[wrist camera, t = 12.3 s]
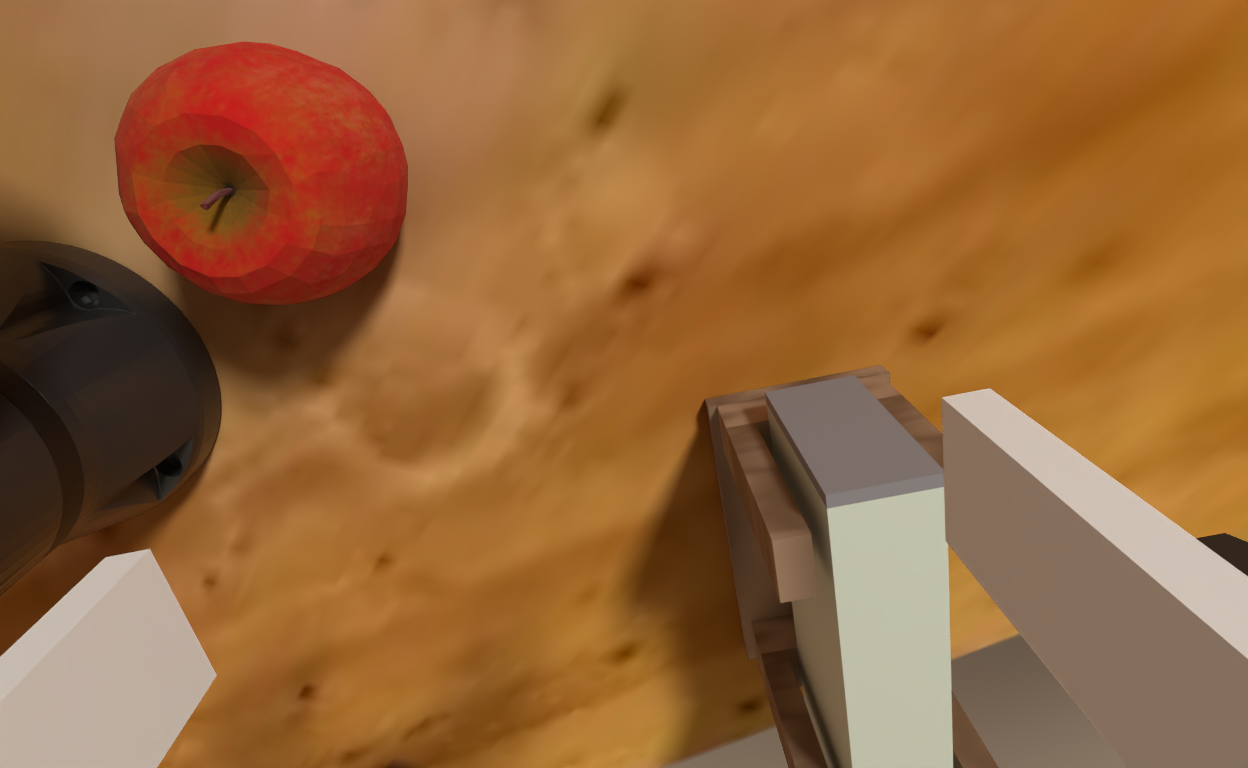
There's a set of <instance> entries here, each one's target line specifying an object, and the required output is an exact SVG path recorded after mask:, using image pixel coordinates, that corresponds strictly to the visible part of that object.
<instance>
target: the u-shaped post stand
mask: <svg viewBox="0 0 1248 768" xmlns="http://www.w3.org/2000/svg"><path fill="white" fill-rule="evenodd" d="M852 375H854V376H855V377H856V378H857V379H858V380H859V381H860V382H861V383H862V384H863V385H864V386H865V387H866V388H867V389H868V391H869V392H870V393H871V394H872V395H873V396H874V397H875V398H876V399H877V400H878V401H879V402H880V403H881V404H882V405H883V406H884V407H885V408H886V410H887V411H888V412H889V413H890V414H891V415H892V416H893V417H894V418H895V419H896V420H897V421H898V422H899V423H900V424H901V425H902V426H903V427H904V429H905V430H906V431H907V432H908V433H909V434H910V435H911V436H912V437H913V438H914V439H915V440H916V441H917V442H918V443H919V444H920V445H921V446H922V447H923V449H924V450H925V451H926V452H927V453H928V454H929V455H930V456H931V457H932V458H933V459H934V460H935V461H936V462H937V463H938V464H939V465H940V466H941V468H942V469H943V470H944V464H943V434H942V433H941V432H940V431H939V430H938V429H937V428H936V427H935V426H934V425H933V424H931V423H930V422H929V421H928V420H927V419H926V418H925V417H924V416H923V415H922V414H921V413H920V412H919V411H918V410H917V409H916V408H915V407H914V406H913V405H912V404H911V403H910V402H908V401H907V400H906V399H905V398H904V397H903V396H902V395H901V394H900V393H899V392H898V391H897V390H896V389H895V388H894V387H893V386H892V385H891V384H890V373H889V372H888V371H887V370H886V369H885V368H884V367H883V366H882V365H880V366H875V367H870V368H864V369H859V370H854V371H849V372H844V373H838V374H833V375H828V376H823V377H818V378H813V379H807V380H802V381H797V382H792V383H787V384H781V385H776V386H771V387H766V388H761V389H756V390H750V391H745V392H740V393H735V394H730V395H725V396H719V397H714V398H709V399H705V404H706V410H707V416H708V422H709V428H710V434H711V441H712V447H713V453H714V459H715V465H716V471H717V477H718V484H719V490H720V496H721V502H722V508H723V514H724V521H725V527H726V533H727V539H728V545H729V551H730V557H731V564H732V570H733V576H734V582H735V588H736V594H737V601H738V607H739V613H740V619H741V625H742V631H743V637H744V644H745V648H746V652H747V655H748V659H749V660H750V659H757V662H758V665H759V669H760V672H761V676H762V679H763V682H764V686H765V689H766V693H767V696H768V699H769V703H770V706H771V709H772V713H773V716H774V720H775V723H776V726H777V730H778V733H779V737H780V740H781V743H782V746H783V750H784V754H785V757H786V760H787V764H788V767H789V768H827V765H826V762H825V759H824V756H823V753H822V751H821V748H820V745H819V742H818V739H817V737H816V734H815V731H814V728H813V725H812V722H811V720H810V717H809V714H808V711H807V708H806V705H805V703H804V700H803V697H802V694H801V691H800V688H799V686H802V680H801V672H800V664H799V656H798V648H797V640H796V632H795V625H794V617H793V609H792V601H796V600H801V599H806V598H812V597H817V596H818V592H817V583H816V574H815V565H814V556H813V547H812V538H811V532H810V530H809V528H808V526H807V524H806V522H805V520H804V518H803V516H802V515H801V513H800V511H799V509H798V507H797V505H796V503H795V501H794V499H793V497H792V495H791V493H790V491H789V489H788V487H787V485H786V483H785V481H784V479H783V477H782V475H781V473H780V471H779V469H778V467H777V465H776V463H775V461H774V459H773V452H772V444H771V436H770V428H769V420H768V412H767V404H766V397H765V392H769V391H774V390H780V389H785V388H790V387H795V386H800V385H805V384H811V383H816V382H821V381H826V380H831V379H837V378H842V377H847V376H852ZM951 694H952V736H953V768H998V766H997V764H996V763H995V761H994V759H993V758H992V756H991V755H990V753H989V751H988V750H987V748H986V746H985V745H984V743H983V741H982V740H981V738H980V736H979V735H978V733H977V732H976V730H975V728H974V727H973V725H972V724H971V722H970V720H969V718H968V717H967V715H966V714H965V712H964V710H963V709H962V707H961V706H960V704H959V702H958V700H957V699H956V697H955V695H954V694H953V692H952V691H951Z"/></svg>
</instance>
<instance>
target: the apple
mask: <svg viewBox="0 0 1248 768" xmlns="http://www.w3.org/2000/svg"><path fill="white" fill-rule="evenodd" d="M114 139H115V151H116V163H117V175H118V187H119V195H120V198H121V202H122V205H123V208H124V211H125V213H126V215H127V217H128V219H129V221H130V223H131V224H132V226H133V227H134V229H135V230H136V232H137V233H138V235H139V236H140V237H141V239H142V240H143V242H144V243H145V244H146V245H147V246H148V247H149V248H150V249H151V250H152V251H153V252H154V253H155V254H156V255H157V256H158V257H159V258H160V259H161V260H162V261H163V262H164V263H165V264H166V265H167V266H168V267H169V268H171V269H172V270H174V271H175V272H177V273H179V274H180V275H182V276H183V277H185V278H186V279H188V280H189V281H191V282H192V283H194V284H195V285H197V286H198V287H200V288H201V289H203V290H204V291H207V292H210V293H213V294H216V295H219V296H223V297H226V298H229V299H232V300H235V301H238V302H241V303H251V304H266V305H286V304H297V303H302V302H306V301H310V300H315V299H319V298H324V297H327V296H329V295H331V294H334V293H336V292H339V291H341V290H343V289H345V288H347V287H348V286H350V285H352V284H353V283H355V282H356V281H358V280H359V279H361V278H362V277H364V276H365V275H366V274H368V273H369V272H371V271H372V270H373V269H375V267H376V266H377V265H378V264H379V263H380V261H381V260H382V259H383V258H384V256H385V255H386V254H387V253H388V252H389V250H390V249H391V248H392V247H393V245H394V243H395V241H396V239H397V237H398V235H399V232H400V229H401V226H402V223H403V220H404V217H405V214H406V202H407V189H408V165H407V161H406V157H405V153H404V149H403V145H402V143H401V141H400V138H399V136H398V134H397V132H396V129H395V127H394V125H393V123H392V121H391V118H390V116H389V115H388V113H387V112H386V110H385V109H384V108H383V107H382V106H381V104H380V103H379V102H378V101H377V99H376V98H375V97H374V96H373V95H372V93H371V92H370V91H369V90H367V89H366V88H365V87H363V86H362V85H361V84H359V83H358V82H357V81H356V80H354V79H353V78H352V77H350V76H349V75H348V74H346V73H345V72H344V71H342V70H341V69H340V68H337V67H335V66H332V65H329V64H327V63H324V62H321V61H319V60H316V59H314V58H312V57H309V56H307V55H304V54H302V53H300V52H297V51H294V50H290V49H287V48H283V47H280V46H276V45H273V44H266V43H254V42H238V43H232V44H226V45H220V46H213V47H207V48H201V49H194V50H192V51H190V52H188V53H186V54H184V55H182V56H180V57H178V58H176V59H175V60H173V61H171V62H169V63H167V64H165V65H163V66H161V67H159V68H157V69H156V70H155V71H154V72H153V73H152V74H151V75H150V76H149V77H148V78H147V79H146V80H145V81H144V82H143V83H142V84H141V85H140V86H139V87H138V88H137V89H136V90H135V91H134V92H133V93H132V94H131V95H130V98H129V100H128V103H127V105H126V108H125V110H124V113H123V115H122V118H121V120H120V123H119V126H118V129H117V132H116V135H115V138H114Z"/></svg>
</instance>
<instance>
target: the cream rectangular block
mask: <svg viewBox="0 0 1248 768" xmlns="http://www.w3.org/2000/svg"><path fill="white" fill-rule="evenodd" d="M765 397H766V404H767V412H768V420H769V428H770V436H771V444H772V452H773V459H774V461H775V463H776V465H777V467H778V469H779V471H780V473H781V475H782V477H783V479H784V481H785V483H786V485H787V487H788V489H789V491H790V493H791V495H792V497H793V499H794V501H795V503H796V505H797V507H798V509H799V511H800V513H801V515H802V516H803V518H804V520H805V522H806V524H807V526H808V528H809V530H810V532H811V538H812V547H813V556H814V565H815V574H816V583H817V592H818V596H817V597H812V598H806V599H801V600H796V601H792V609H793V617H794V625H795V632H796V640H797V648H798V656H799V664H800V672H801V680H802V687H803V695H804V703H805V705H806V708H807V711H808V714H809V717H810V720H811V722H812V725H813V728H814V731H815V734H816V737H817V739H818V742H819V745H820V748H821V751H822V753H823V756H824V759H825V762H826V765H827V768H953V736H952V694H951V653H950V611H949V569H948V543H947V542H946V541H945V503H944V470H943V469H942V468H941V466H940V465H939V464H938V463H937V462H936V461H935V460H934V459H933V458H932V457H931V456H930V455H929V454H928V453H927V452H926V451H925V450H924V449H923V447H922V446H921V445H920V444H919V443H918V442H917V441H916V440H915V439H914V438H913V437H912V436H911V435H910V434H909V433H908V432H907V431H906V430H905V429H904V427H903V426H902V425H901V424H900V423H899V422H898V421H897V420H896V419H895V418H894V417H893V416H892V415H891V414H890V413H889V412H888V411H887V410H886V408H885V407H884V406H883V405H882V404H881V403H880V402H879V401H878V400H877V399H876V398H875V397H874V396H873V395H872V394H871V393H870V392H869V391H868V389H867V388H866V387H865V386H864V385H863V384H862V383H861V382H860V381H859V380H858V379H857V378H856V377H855V376H854V375H852V376H847V377H842V378H837V379H831V380H826V381H821V382H816V383H811V384H805V385H800V386H795V387H790V388H785V389H780V390H774V391H769V392H765Z"/></svg>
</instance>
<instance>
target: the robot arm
mask: <svg viewBox="0 0 1248 768" xmlns="http://www.w3.org/2000/svg"><path fill="white" fill-rule="evenodd" d="M220 416H221V398H220V390H219V384H218V380H217V375H216V372H215V369H214V366H213V363H212V361H211V358H210V356H209V354H208V352H207V349H206V347H205V345H204V344H203V342H202V340H201V338H200V337H199V335H198V334H197V332H196V331H195V329H194V328H193V326H192V325H191V324H190V322H189V321H188V320H187V318H186V317H185V316H184V315H183V313H182V312H181V311H180V310H179V309H178V308H177V307H176V306H175V305H174V304H173V303H172V302H171V301H170V300H169V299H168V298H167V297H166V296H165V295H164V294H163V293H162V292H161V291H159V290H158V289H157V288H156V287H154V286H153V285H152V284H151V283H149V282H148V281H146V280H145V279H144V278H142V277H141V276H139V275H138V274H136V273H135V272H133V271H131V270H130V269H128V268H126V267H124V266H123V265H121V264H119V263H117V262H115V261H113V260H111V259H108V258H106V257H104V256H101V255H99V254H96V253H93V252H90V251H87V250H84V249H81V248H77V247H73V246H69V245H64V244H59V243H52V242H41V241H20V242H10V243H4V244H0V595H1V594H2V593H4V592H5V591H6V590H7V589H8V588H9V587H10V586H12V585H13V584H14V583H15V582H16V581H17V580H19V579H20V578H21V577H22V576H23V575H24V574H25V573H27V572H28V571H29V570H30V569H31V568H32V567H33V566H35V565H36V564H37V563H38V562H39V561H40V560H42V559H43V558H44V557H45V556H46V555H48V554H49V553H50V552H51V551H52V550H54V549H55V548H56V547H57V546H59V545H61V544H63V543H66V542H69V541H71V540H74V539H77V538H80V537H82V536H85V535H88V534H90V533H93V532H96V531H98V530H101V529H104V528H106V527H109V526H112V525H114V524H117V523H120V522H122V521H125V520H128V519H130V518H133V517H135V516H138V515H140V514H142V513H144V512H146V511H148V510H150V509H152V508H153V507H155V506H157V505H158V504H160V503H161V502H163V501H164V500H166V499H167V498H168V497H170V496H171V495H172V494H173V493H174V492H175V491H176V490H177V489H178V488H180V487H181V486H182V485H183V484H184V483H185V482H186V481H187V480H188V479H189V478H190V477H191V476H192V475H193V474H194V473H195V472H196V471H197V470H198V469H199V468H200V466H201V465H202V464H203V463H204V461H205V460H206V458H207V457H208V455H209V453H210V451H211V449H212V447H213V445H214V442H215V440H216V436H217V433H218V429H219V424H220ZM942 424H943V464H944V503H945V541H946V542H947V543H948V545H949V546H950V547H951V548H952V550H953V551H954V552H955V553H956V555H957V556H958V557H959V558H960V560H961V561H962V562H963V563H964V565H965V566H966V567H967V568H968V570H969V571H970V572H971V573H972V575H973V576H974V577H975V578H976V580H977V581H978V582H979V583H980V585H981V586H982V587H983V588H984V590H985V591H986V592H987V593H988V595H989V596H990V597H991V598H992V600H993V601H994V602H995V603H996V605H997V606H998V607H999V608H1000V610H1001V611H1002V612H1003V613H1004V615H1005V616H1006V617H1007V618H1008V620H1009V621H1010V622H1011V623H1012V625H1013V626H1014V627H1015V628H1016V630H1017V631H1018V632H1019V633H1020V635H1021V636H1022V637H1023V638H1024V640H1025V641H1026V642H1027V643H1028V644H1029V646H1030V647H1031V648H1032V650H1033V651H1034V652H1035V653H1036V655H1037V656H1038V657H1039V658H1040V660H1041V661H1042V662H1043V663H1044V665H1045V666H1046V667H1047V668H1048V670H1049V671H1050V672H1051V673H1052V675H1053V676H1054V677H1055V678H1056V680H1057V681H1058V682H1059V683H1060V685H1061V686H1062V687H1063V688H1064V690H1065V691H1066V692H1067V693H1068V694H1069V696H1070V697H1071V698H1072V699H1073V701H1074V702H1075V703H1076V705H1077V706H1078V707H1079V708H1080V710H1081V711H1082V712H1083V713H1084V715H1085V716H1086V717H1087V718H1088V719H1089V721H1090V722H1091V723H1092V724H1093V726H1094V727H1095V728H1096V729H1097V731H1098V732H1099V733H1100V735H1101V736H1102V737H1103V738H1104V740H1105V741H1106V742H1107V743H1108V745H1109V746H1110V747H1111V748H1112V749H1113V751H1114V752H1115V753H1116V754H1117V756H1118V757H1119V758H1120V760H1121V761H1122V762H1123V763H1124V765H1125V766H1126V767H1127V768H1248V542H1246V541H1243V540H1241V539H1238V538H1236V537H1233V536H1231V535H1228V534H1226V533H1223V534H1217V535H1212V536H1206V537H1201V538H1194V537H1193V536H1192V535H1190V534H1189V533H1188V532H1186V531H1185V530H1183V529H1182V528H1181V527H1179V526H1178V525H1177V524H1175V523H1174V522H1172V521H1171V520H1170V519H1168V518H1167V517H1166V516H1164V515H1163V514H1161V513H1160V512H1159V511H1157V510H1156V509H1155V508H1153V507H1152V506H1150V505H1149V504H1148V503H1146V502H1145V501H1144V500H1142V499H1141V498H1140V497H1138V496H1137V495H1135V494H1134V493H1133V492H1131V491H1130V490H1129V489H1127V488H1126V487H1124V486H1123V485H1122V484H1120V483H1119V482H1118V481H1116V480H1115V479H1113V478H1112V477H1111V476H1109V475H1108V474H1107V473H1105V472H1104V471H1102V470H1101V469H1100V468H1098V467H1097V466H1096V465H1094V464H1093V463H1092V462H1090V461H1089V460H1087V459H1086V458H1085V457H1083V456H1082V455H1081V454H1079V453H1078V452H1076V451H1075V450H1074V449H1072V448H1071V447H1070V446H1068V445H1067V444H1065V443H1064V442H1063V441H1061V440H1060V439H1059V438H1057V437H1056V436H1054V435H1053V434H1052V433H1050V432H1049V431H1048V430H1046V429H1045V428H1043V427H1042V426H1041V425H1039V424H1038V423H1037V422H1035V421H1034V420H1033V419H1031V418H1030V417H1028V416H1027V415H1026V414H1024V413H1023V412H1022V411H1020V410H1019V409H1017V408H1016V407H1015V406H1013V405H1012V404H1011V403H1009V402H1008V401H1006V400H1005V399H1004V398H1002V397H1001V396H1000V395H998V394H997V393H995V392H994V391H993V390H991V389H990V388H989V389H984V390H979V391H973V392H968V393H963V394H958V395H952V396H947V397H942ZM216 676H217V675H216V673H215V671H214V669H213V667H212V666H211V664H210V662H209V660H208V658H207V656H206V654H205V652H204V650H203V649H202V647H201V645H200V643H199V641H198V639H197V637H196V635H195V633H194V632H193V630H192V628H191V626H190V624H189V622H188V620H187V618H186V616H185V615H184V613H183V611H182V609H181V607H180V605H179V603H178V601H177V599H176V597H175V596H174V594H173V592H172V590H171V588H170V586H169V584H168V582H167V580H166V579H165V577H164V575H163V573H162V571H161V569H160V567H159V565H158V563H157V562H156V560H155V558H154V556H153V554H152V552H151V550H150V549H146V550H141V551H136V552H131V553H126V554H120V555H115V556H110V557H105V558H104V559H103V560H102V561H101V562H100V563H99V564H98V565H97V566H96V567H95V568H94V569H92V570H91V571H90V572H89V573H88V574H87V575H86V576H85V577H84V578H83V579H82V580H81V581H80V582H79V583H78V584H77V585H76V586H74V587H73V588H72V589H71V590H70V591H69V592H68V593H67V594H66V595H65V596H64V597H63V598H62V599H61V600H60V601H59V602H58V603H57V604H55V605H54V606H53V607H52V608H51V609H50V610H49V611H48V612H47V613H46V614H45V615H44V616H43V617H42V618H41V619H40V620H39V621H38V622H36V623H35V624H34V625H33V626H32V627H31V628H30V629H29V630H28V631H27V632H26V633H25V634H24V635H23V636H22V637H21V638H20V639H19V640H17V641H16V642H15V643H14V644H13V645H12V646H11V647H10V648H9V649H8V650H7V651H6V652H5V653H4V654H3V655H2V656H1V657H0V768H157V767H158V765H159V764H160V762H161V761H162V759H163V758H164V756H165V755H166V753H167V752H168V750H169V748H170V747H171V745H172V744H173V742H174V741H175V739H176V738H177V736H178V735H179V733H180V731H181V730H182V728H183V727H184V725H185V724H186V722H187V721H188V719H189V718H190V716H191V714H192V713H193V711H194V710H195V708H196V707H197V705H198V704H199V702H200V701H201V699H202V697H203V696H204V694H205V693H206V691H207V690H208V688H209V687H210V685H211V684H212V682H213V680H214V679H215V677H216Z"/></svg>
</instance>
